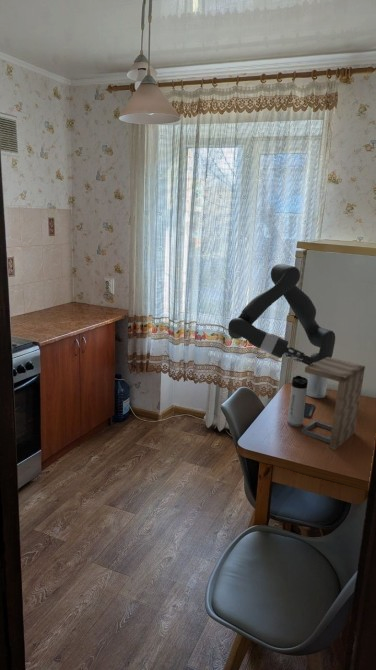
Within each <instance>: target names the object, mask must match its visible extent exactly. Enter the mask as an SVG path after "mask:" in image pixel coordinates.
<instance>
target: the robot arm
mask: <svg viewBox="0 0 376 670" xmlns="http://www.w3.org/2000/svg"><path fill="white" fill-rule="evenodd" d="M270 279H271V281H272V283H273V284H274V285H273V286H272V287H270V288H269V289H267V290H265V291H263V292H261V293H260V294H258V295H257V296H255V297H254V298H253V299H251V300H250V302H248V304H246V306H244V308H243V309H242V311H241V313H240V314H239V316H238V317H234V318H232V319H230V321H229V322H228V325H227V327H228V329H227V333H228V335H229V337H231V338H232V339H235V340H238V339H241V338H243V339H245V340H246V341H247V342H248V343H249V344H250V345H251V346H254V347H256V348H258V349H260V350H262V351H264V352H265V353H268V354H270V355H272V356H274V357H276V358H278V359H282V358H283V356H284V355H285V357H287V358H288V359H291V360H293V361H295V362H299V363H303V364H305V365H306V366H309V365H311V364H313V363H315V362H317V361H320V360H322V359H324V358H326V357H330V358H333V353H334V349H335V344H336V334H335V332H334V331H333V330H330V329H327V328H324V327H321V326H320V325H319V324H318V323H317V321H316V316H317V309H316V306H315V305H314V303H313V301H312V300H311V298H310V297H309V296H308V295H307V294H306V293H305V292H304V291H303V290H302V289H301V288H300V287H298V286H297V284H298V283H299V281H300V279H301V272H300V269H299V268H298V267H296V266H294V265H289V264H285V263H277V264H275V265H273V267H272V268H271V271H270ZM281 297H284V299H285V300H286V302H287V303H288V306H289V307H290V308H291V310H292V312H293V314H294V315H295V317H296V318H297V319H298V322H299V324H300V325H301V326H302V328H303V330H304V332H305V334H306V337H307V338H308V341H309V343H310V344H312V346H314V347H317V348H319V352H315V353H314V352H313V353H311V354H310V356H309V355H306V354H305V353H304V352H303V351H300V350H298V349H295V348H294V347H291V346H290V347H288V345H289V341H288V340H286V339H284V338H281V337H279V336H277V335H275V334H273V333H269V332H266V331H265V330H262V329H261V328H260V329H259V328H257V327H256V326H255V325H253V324H254V323H255V322H256V321H257V320H258V319H259V318H260V317H261V316H262V315H263V313H265V311H266V310H268V308H269V307H271V306H272V305H273V303H275V302H276V301H277V300H279V299H280V298H281ZM307 380H308V385H307V394H306V396H308V397H311V398H314V399H323V398H325V397H326V394H327V393H326V392H327V386H328V380H329V379H328V378H324V377H320V376H317V375H313V374H310V373H307Z"/></svg>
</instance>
